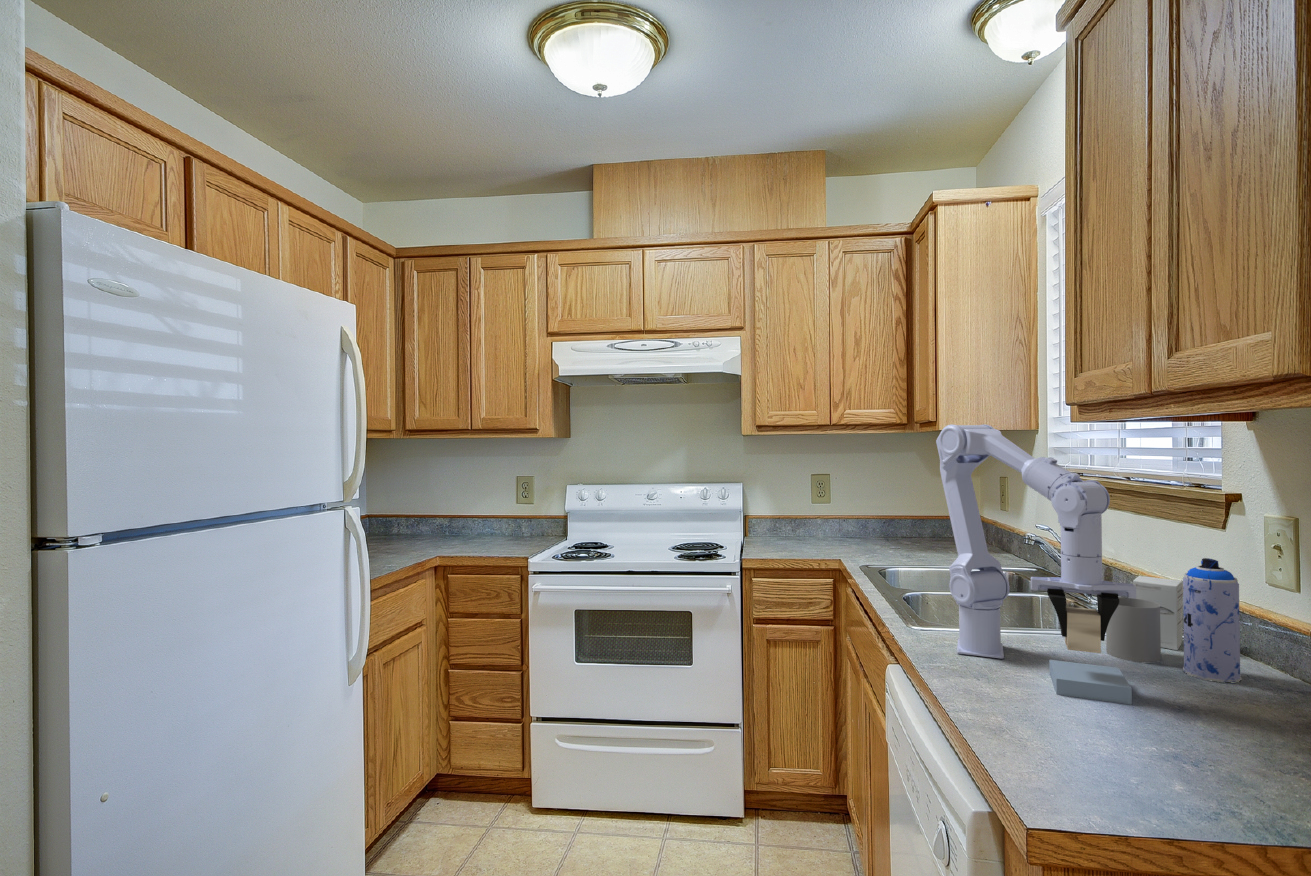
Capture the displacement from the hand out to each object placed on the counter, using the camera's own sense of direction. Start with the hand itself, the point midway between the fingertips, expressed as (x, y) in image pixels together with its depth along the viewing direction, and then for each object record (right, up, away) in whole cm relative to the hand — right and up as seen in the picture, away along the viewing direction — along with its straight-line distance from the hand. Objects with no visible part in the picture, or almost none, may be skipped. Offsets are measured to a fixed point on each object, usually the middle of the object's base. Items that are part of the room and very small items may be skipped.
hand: (1082, 637), depth 109 cm
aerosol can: (+26, -8, +6) cm, 28 cm away
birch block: (0, -2, 0) cm, 2 cm away
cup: (+20, -9, +16) cm, 27 cm away
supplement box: (+30, -9, +24) cm, 39 cm away
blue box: (+1, -9, 0) cm, 9 cm away
